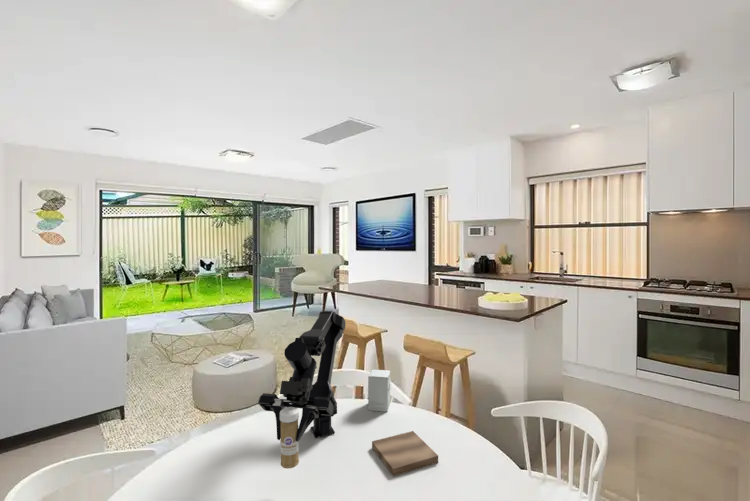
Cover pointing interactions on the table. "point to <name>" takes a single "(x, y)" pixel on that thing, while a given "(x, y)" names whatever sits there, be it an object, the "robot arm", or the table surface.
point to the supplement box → (379, 390)
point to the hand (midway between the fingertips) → (287, 440)
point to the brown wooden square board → (404, 453)
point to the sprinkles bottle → (289, 437)
